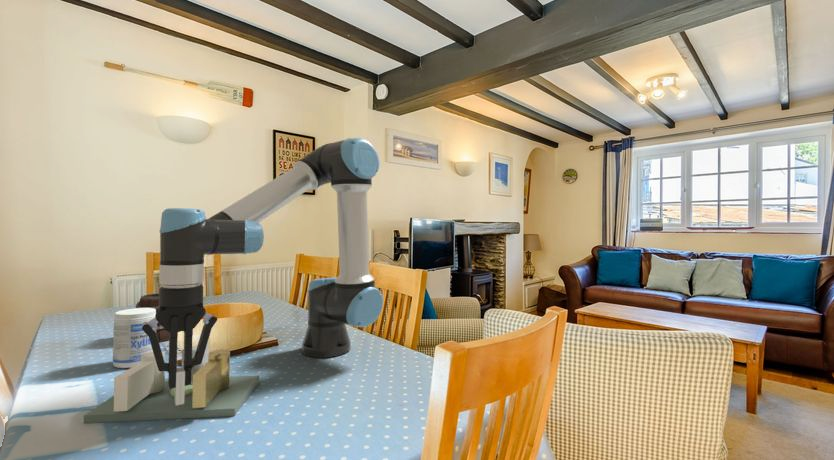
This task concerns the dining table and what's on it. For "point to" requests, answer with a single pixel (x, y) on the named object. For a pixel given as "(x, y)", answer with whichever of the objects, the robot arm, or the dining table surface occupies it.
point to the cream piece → (138, 382)
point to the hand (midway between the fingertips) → (179, 401)
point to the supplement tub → (131, 336)
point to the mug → (153, 302)
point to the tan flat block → (211, 378)
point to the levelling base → (165, 408)
